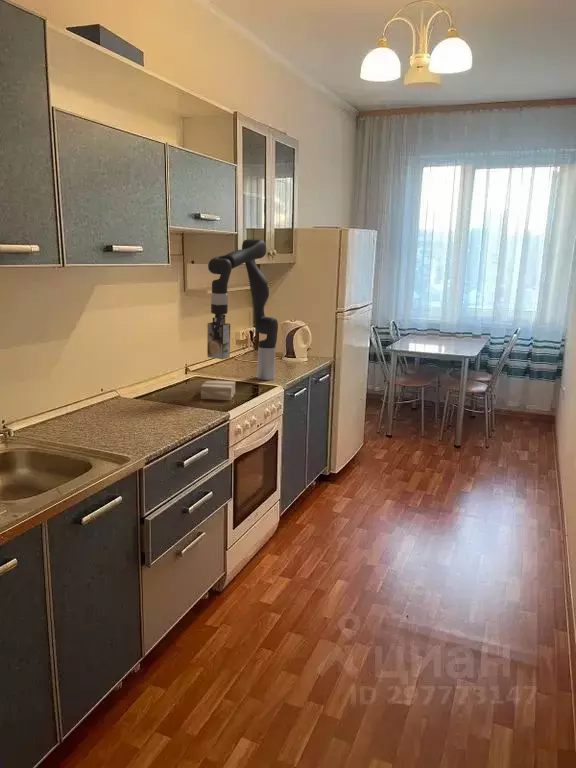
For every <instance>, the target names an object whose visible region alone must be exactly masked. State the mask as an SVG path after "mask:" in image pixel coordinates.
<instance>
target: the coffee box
mask: <svg viewBox="0 0 576 768" xmlns="http://www.w3.org/2000/svg"><path fill="white" fill-rule="evenodd" d="M206 326H207V328H206V329H207V332H206V333H207V338H206V339H207V341H206V343H207V351H206V352H207V353H206V354H207V358H212V359H218V360H226V359H230V358H231V323H226V322H225V323H223V322H222V324H221V325H220V324H219V326H220V331H219V340H214V331H213V330H212V329H213V321H211V322H207V324H206ZM216 328H217V327H216Z"/></svg>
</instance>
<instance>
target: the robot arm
mask: <svg viewBox="0 0 576 768" xmlns="http://www.w3.org/2000/svg"><path fill="white" fill-rule="evenodd" d="M266 254H267V244H266V242H265V241H264V240H261V239H252V238H251V239H245V240H243V241H242V244H241V249H237V250H234V251H231V252H228V253H226V254H224V255H220V256H215V257H213V258H211V259H210V260H209V262H208V265H207V267H208V268H207V269H208V271H209V272H210V273H211V274H213V275H219V278H217V279H214V280H212V282H211V298H210V313H211V314H213V315H214V317H212V322H213V329H212V330H213V331H214V340H219V331H220V326H219V324H220V325H221V324H222V323H226V315H227V314H228V309H229V308H228V306H229V305H228V303H229V300H228V299H229V297H228V284H229V281H230V276H231V273H232V270H233V269H235V268H237V267H239V266H240V265H243V264H244V265H245V267H246V271H247V276H248V282H249V288H250V293H251V299H252V305H253V309H254V311H253V312H254V321H255V323H254V324H255V328H256V332H258V334H262V335H266V338H265V339H262V340H259V341H258V347H257V373H256V374H257V377H256V378H257V379H259V380H264V381H270V380H274V379H275V369H276V368H275V367H276V366H275V365H276V345H277V341H278V331H279V322H278V320H277V318H276V317H270V316H266V315H265V305H266V303H267V301H268V299H269V296H270V288H269V282H268V279H267V278H266V277H265V275H264V274H263V273H262V271H261V270H260V268H259V267H258V265H257V262H256V260H258V259H262V258H264V257H265V256H266ZM216 327H217V328H216Z"/></svg>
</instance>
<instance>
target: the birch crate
mask: <svg viewBox="0 0 576 768" xmlns="http://www.w3.org/2000/svg"><path fill="white" fill-rule="evenodd" d="M236 382H237V381H235V380H234V381H233V380H232V381H231V380H219V379H218V380H217V379H215V380H214V379H213V380H212V379H206V380H205V382H203V384H201V386H200V399H201V400H202V399H203V400H219V401H232V399H233V398H232V397H234V395H235V394H236Z"/></svg>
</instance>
